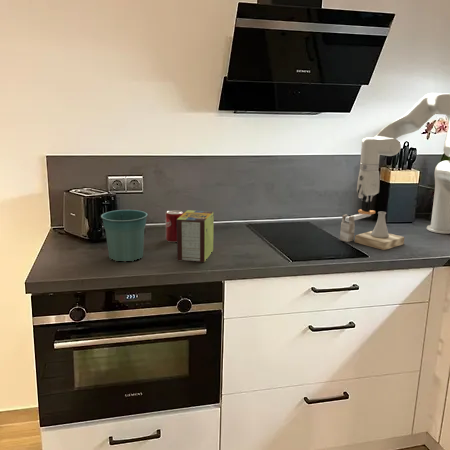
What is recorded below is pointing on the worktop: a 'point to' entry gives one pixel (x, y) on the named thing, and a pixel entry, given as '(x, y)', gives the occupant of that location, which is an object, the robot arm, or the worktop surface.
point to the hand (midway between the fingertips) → (365, 210)
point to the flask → (380, 227)
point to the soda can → (172, 225)
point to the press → (367, 236)
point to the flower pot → (125, 234)
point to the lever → (361, 215)
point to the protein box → (195, 235)
